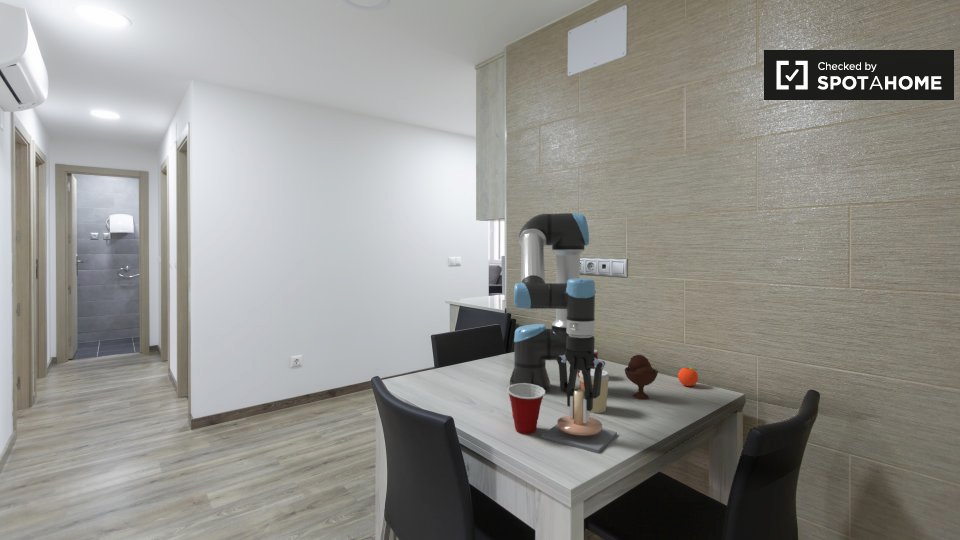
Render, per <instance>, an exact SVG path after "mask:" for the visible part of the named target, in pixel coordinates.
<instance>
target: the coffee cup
mask: <svg viewBox="0 0 960 540" xmlns="http://www.w3.org/2000/svg"><path fill="white" fill-rule="evenodd" d="M594 372H595V369H591V372H590V373H591V381H592V388H593V383H594ZM579 376H580V378H579V389H583V390H585V387H584V380H583V374H582V371H580V373H579ZM609 378H610V374H609V372H608V371H606V370H604V369H602V378H601V389H600V396H598V397H597V398H593V409H592V410H591V411H590V414H591V413H593V414H601V413H602V414H603V413H604V412H606V410H607V402H608V391H609Z"/></svg>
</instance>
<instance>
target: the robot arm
mask: <svg viewBox="0 0 960 540" xmlns="http://www.w3.org/2000/svg"><path fill="white" fill-rule="evenodd" d="M518 243H519V247H520V248H521V251H520V252H521V256H520V257H521V259H520V260H521V262H520V263H521V264H520V282H518V283H517V282H516V283H515V284H514V287H513V288H514V289H513V304H514V307H516V308H517V309H518V308H519V309H527V310H530V309H532V310H534V309H536V310H537V309H538V310H540V309H541V310H543V309H545V310H546V309H552V310H555V319H554V320H553V322H551V328H547V326H546V324H543V323H540V324H539V323H536V324H535V323H534V324H532V323H531V324H526V325H521V326H519V327H517V328H516V329H515V331H514V339H513V342H514V350H513V351H514V356H513V357H514V363H513V370H512V373H511V376H510V379H509V386H511V385H513V384H520V383H526V384H533V385H537V386H540V387H542V388H543V389H544V390H545V393H546V392H549V390H550V389H551V380H550V377H549V374H548V371H547V368H546V364H547V363H546V361H557V365H558V371H559V372H558V373H559V388H560V391H561V393H564V394H566V405H567V407H569V415H570V420H574V390H575V389H576V382H577V377H578V375H577V371H578V369H580V370H581V371H582V374H583V380H584V387H585V394H586V398H584V399H583V423H587V422H588V421H589V420H590V417H591V416H590V414H591V413H590V411H591V410H592V409H593V398H597V397H598V396H600V389H601V378H602V370H604V367H605V365H606V362H605V361H604V360H602V361H601V360H599V358H598V359H596V356H595V354H594V349H595V343H596V342H595V336H594V335H595V334H596V327H595V324H596V323H595V321H596V320H595V313H596V312H595V309H596V307H595V306H596V302H595V301H596V291H597V290H596V286H595V285H596V283H595V280H594V279H592V278H581V256H582V255H581V254H583V252H585V246H586V247H587V246H589V244H590V232H589V225H588V221H587V218H586V215H584V214H582V213H573V212H570V213H569V212H566V213H540V214H537V215H534V216H533V217H531V218H529V220H527V221H526V222H525V223H524V224H523V226H522V228H520V231H519V234H518ZM545 246H551V251H552V252H553V253H554V254H555V255H556V257H555V258H556V260H555V265H556V267H555V273H556V274H555V282H554V283H551V282H549V283H548V282H546V273H545V271H546V270H545V254H544V253H545V252H544V247H545ZM567 362H568V364H569V376H568V367H567V366H568V365H567ZM593 362H594V364H595V365H594V367H595V372H594V383H593V388H592V381H591V373H590V372H591V368H590V366H591V365H592V364H593Z"/></svg>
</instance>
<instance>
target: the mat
mask: <svg viewBox="0 0 960 540" xmlns="http://www.w3.org/2000/svg"><path fill="white" fill-rule="evenodd" d="M617 435H618V431H615V430H612V429H611V430H610V429H607V428H602V431H601V432H600V433H598V434H595V435H587V436H582V435H574V434H569V433H566V432H564V431H562V430H560V429H559V428H558V426H557V424H555V425H554V426H552V427H551V428H549V429H548V430H546V431H545V432H544V433H542V434H541V438H542V439H545V440H548V441H552V442H556V443H558V444H559V443H560V444H562V445H566V446H569V447H575V448H578V449H581V450H585V451H589V452H593V453H595V454H599V453H600V452H601V451H602V450H603V449H604V448H605V447H606V446H607V445H608V444H609V443H610V442H611V441H612V440H614V438H615V437H616V436H617Z"/></svg>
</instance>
